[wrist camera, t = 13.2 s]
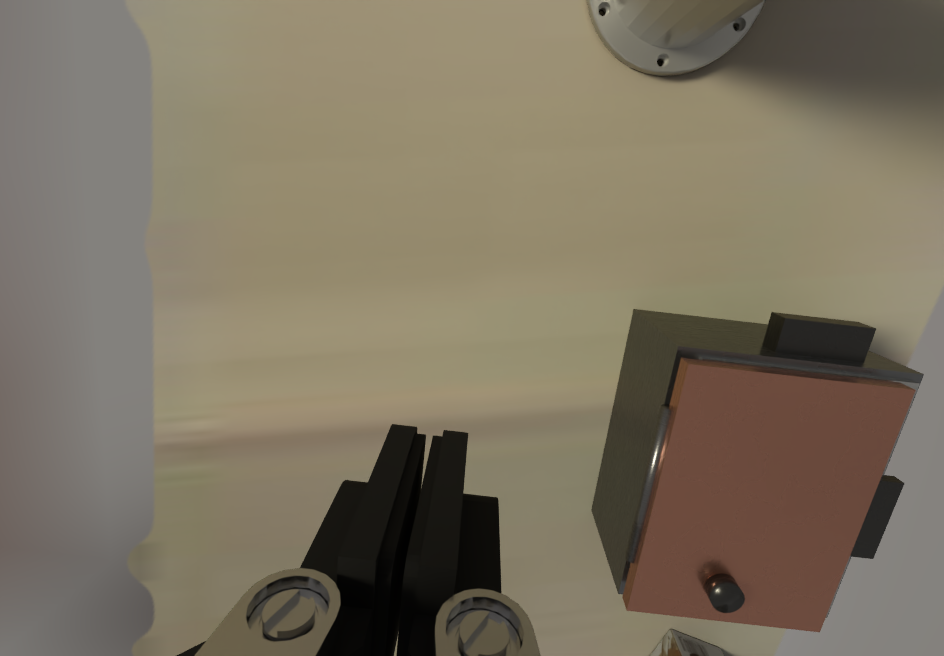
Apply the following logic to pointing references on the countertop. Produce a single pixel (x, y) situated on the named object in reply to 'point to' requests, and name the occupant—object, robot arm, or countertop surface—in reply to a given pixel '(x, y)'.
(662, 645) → the coffee box
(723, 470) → the lid
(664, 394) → the cooker base
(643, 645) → the countertop surface
